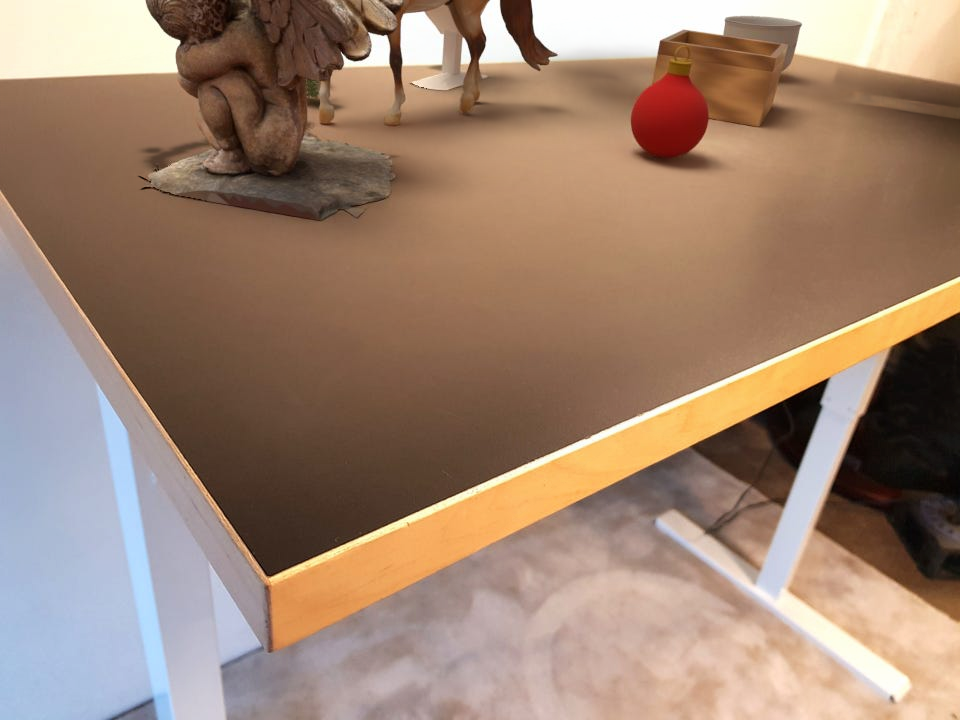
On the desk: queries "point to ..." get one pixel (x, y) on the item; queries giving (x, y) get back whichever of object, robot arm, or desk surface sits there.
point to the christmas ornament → (670, 113)
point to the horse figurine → (465, 12)
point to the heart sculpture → (446, 52)
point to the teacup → (765, 31)
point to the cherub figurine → (271, 102)
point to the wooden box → (727, 72)
